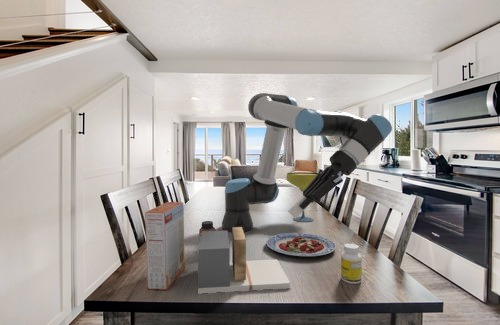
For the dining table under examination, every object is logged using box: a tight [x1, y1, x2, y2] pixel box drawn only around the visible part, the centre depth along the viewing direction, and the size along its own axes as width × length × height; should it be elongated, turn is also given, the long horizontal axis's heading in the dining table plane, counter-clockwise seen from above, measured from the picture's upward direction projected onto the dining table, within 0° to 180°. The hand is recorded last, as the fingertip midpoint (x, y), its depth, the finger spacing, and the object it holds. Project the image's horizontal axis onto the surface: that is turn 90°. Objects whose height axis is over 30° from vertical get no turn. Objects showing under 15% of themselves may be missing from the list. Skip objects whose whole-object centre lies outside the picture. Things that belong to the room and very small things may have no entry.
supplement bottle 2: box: [340, 243, 363, 285], centre depth 76 cm, size 5×5×10 cm
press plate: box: [231, 227, 247, 281], centre depth 78 cm, size 3×12×11 cm, turn 7°
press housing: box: [197, 230, 291, 295], centre depth 78 cm, size 24×16×12 cm, turn 97°
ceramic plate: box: [266, 232, 337, 257], centre depth 103 cm, size 26×26×3 cm
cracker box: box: [144, 201, 186, 291], centre depth 77 cm, size 14×6×21 cm, turn 174°
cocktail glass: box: [286, 171, 319, 223], centre depth 146 cm, size 18×18×25 cm
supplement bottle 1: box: [198, 220, 217, 243], centre depth 97 cm, size 6×6×11 cm
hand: (291, 214), depth 79 cm, fingers closed
